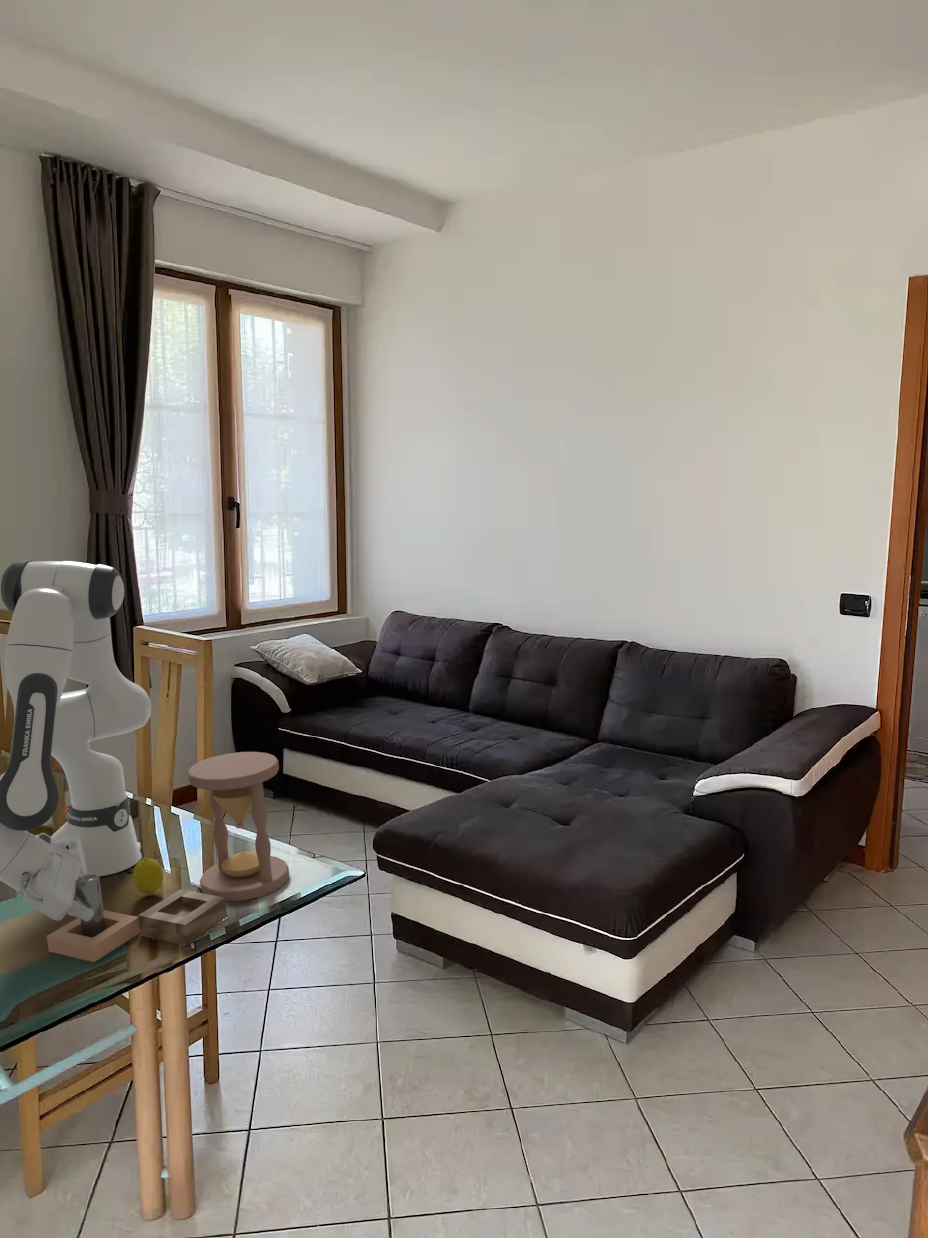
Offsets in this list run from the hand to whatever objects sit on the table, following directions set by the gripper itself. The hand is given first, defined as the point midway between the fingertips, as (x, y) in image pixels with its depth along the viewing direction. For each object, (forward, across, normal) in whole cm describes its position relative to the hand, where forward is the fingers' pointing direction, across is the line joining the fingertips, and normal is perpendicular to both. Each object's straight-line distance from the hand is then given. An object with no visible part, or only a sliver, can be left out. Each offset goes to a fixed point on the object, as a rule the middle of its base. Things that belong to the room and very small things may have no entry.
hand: (93, 905), depth 167 cm
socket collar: (+5, 0, +5) cm, 7 cm away
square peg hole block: (+16, -1, -6) cm, 17 cm away
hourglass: (+24, +14, -14) cm, 32 cm away
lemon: (+11, +16, -1) cm, 20 cm away
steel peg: (+5, 0, +5) cm, 7 cm away
